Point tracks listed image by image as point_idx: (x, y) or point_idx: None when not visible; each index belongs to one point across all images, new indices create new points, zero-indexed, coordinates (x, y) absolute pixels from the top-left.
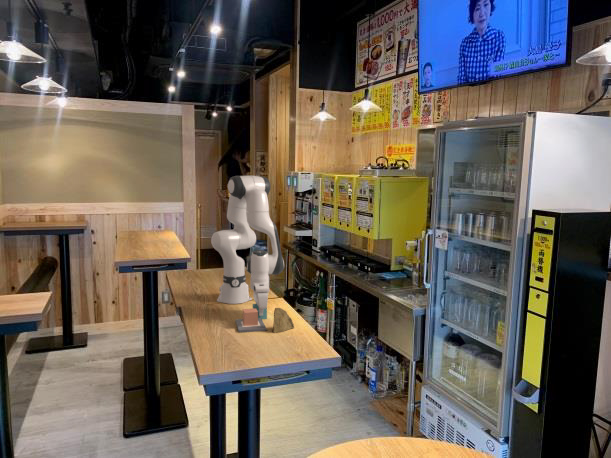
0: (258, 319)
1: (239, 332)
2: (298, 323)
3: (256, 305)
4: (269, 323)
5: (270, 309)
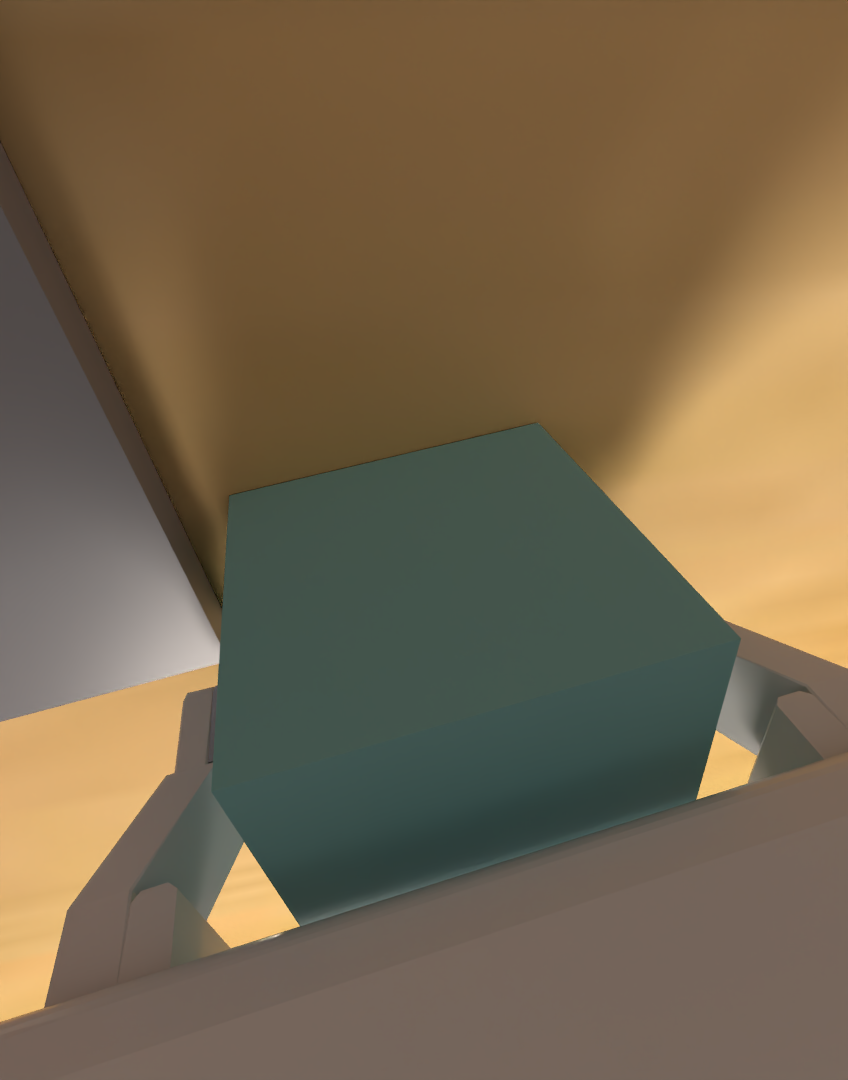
0: (68, 638)
1: None
2: None
3: (482, 787)
4: (11, 783)
5: (823, 651)
